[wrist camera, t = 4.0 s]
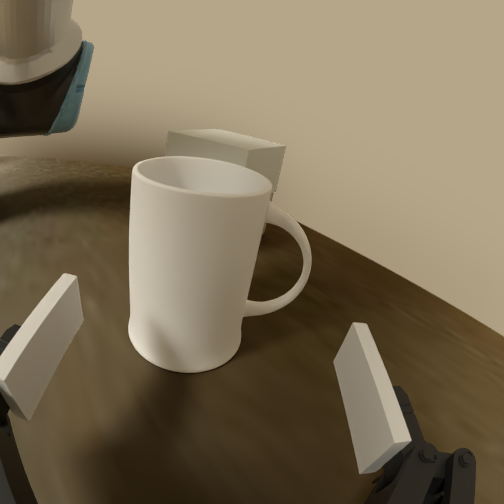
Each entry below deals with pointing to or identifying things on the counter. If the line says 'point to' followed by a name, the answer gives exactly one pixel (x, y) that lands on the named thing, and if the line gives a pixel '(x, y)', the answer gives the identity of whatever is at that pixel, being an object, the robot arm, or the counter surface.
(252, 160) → the tower top
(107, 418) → the counter surface
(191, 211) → the mug
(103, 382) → the counter surface
